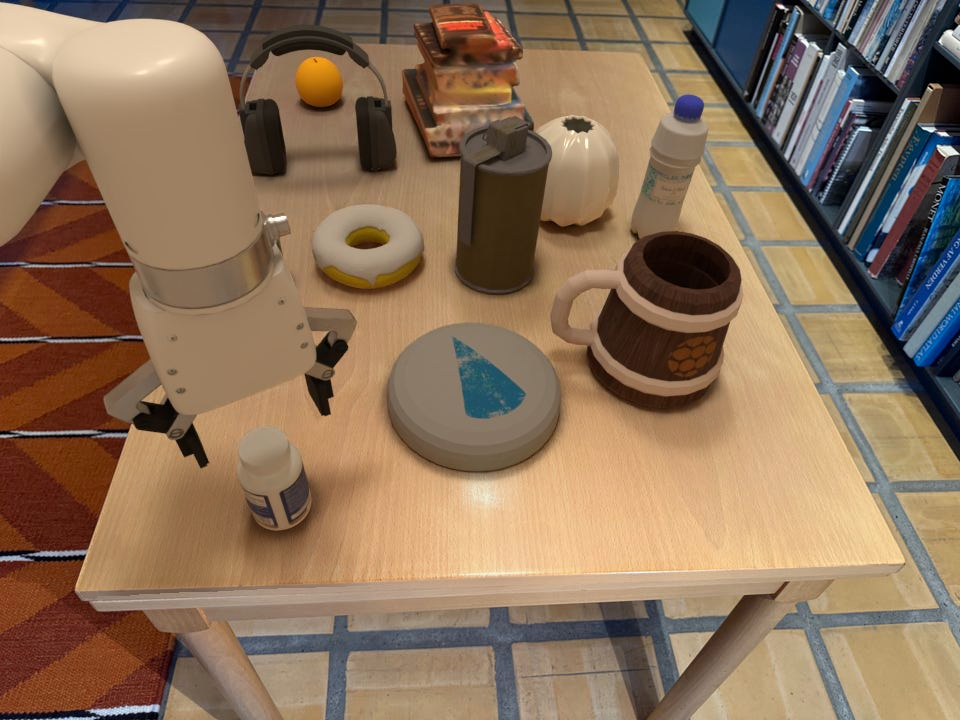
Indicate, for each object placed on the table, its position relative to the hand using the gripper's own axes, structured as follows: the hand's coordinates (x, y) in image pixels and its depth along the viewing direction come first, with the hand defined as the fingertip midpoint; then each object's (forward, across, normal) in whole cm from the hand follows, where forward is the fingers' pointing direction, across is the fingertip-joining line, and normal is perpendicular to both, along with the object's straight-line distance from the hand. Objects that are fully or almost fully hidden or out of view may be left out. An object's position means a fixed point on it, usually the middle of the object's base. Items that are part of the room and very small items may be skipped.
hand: (262, 427), depth 51 cm
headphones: (+12, -26, -53) cm, 60 cm away
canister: (+13, -35, -20) cm, 42 cm away
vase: (+13, -52, -27) cm, 60 cm away
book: (+13, -52, -54) cm, 76 cm away
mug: (+13, -40, +1) cm, 42 cm away
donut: (+12, -22, -29) cm, 38 cm away
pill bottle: (+12, 0, 0) cm, 12 cm away
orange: (+12, -33, -72) cm, 80 cm away
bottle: (+13, -60, -16) cm, 63 cm away
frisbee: (+12, -22, -2) cm, 25 cm away
